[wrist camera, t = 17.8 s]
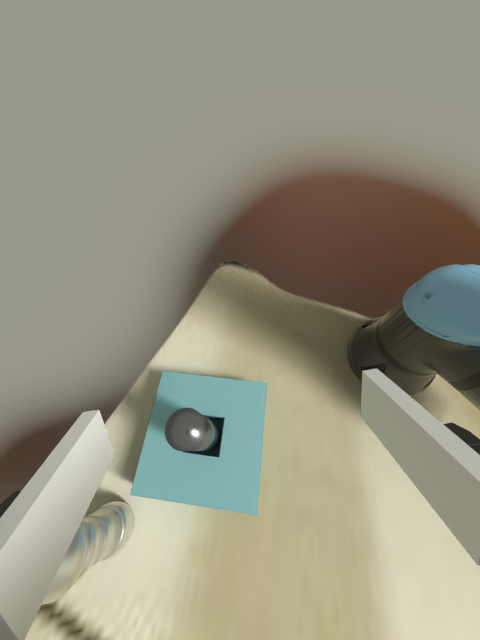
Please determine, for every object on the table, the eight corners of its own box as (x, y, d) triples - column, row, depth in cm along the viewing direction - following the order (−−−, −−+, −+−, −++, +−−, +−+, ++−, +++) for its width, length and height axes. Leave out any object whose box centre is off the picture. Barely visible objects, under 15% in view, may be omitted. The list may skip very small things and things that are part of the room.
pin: (223, 424, 45) (208, 410, 29) (219, 452, 43) (200, 454, 27) (198, 420, 46) (170, 405, 29) (193, 448, 44) (160, 448, 28)
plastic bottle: (147, 514, 41) (66, 564, 23) (117, 563, 38) (1, 662, 20) (116, 489, 42) (19, 517, 24) (86, 534, 40) (-47, 602, 22)
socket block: (265, 390, 49) (267, 383, 43) (256, 506, 41) (256, 515, 35) (171, 379, 50) (162, 370, 45) (145, 489, 42) (129, 494, 37)
